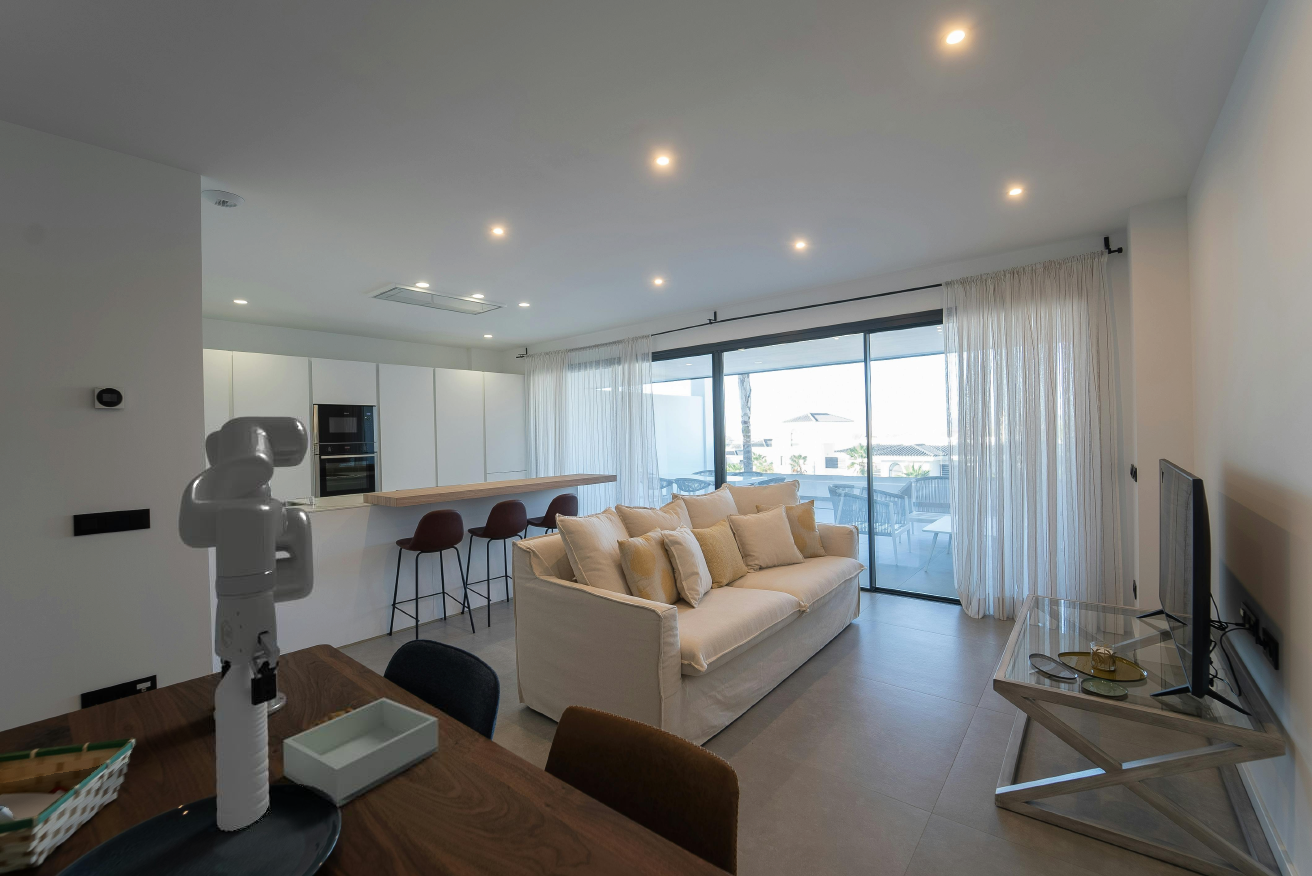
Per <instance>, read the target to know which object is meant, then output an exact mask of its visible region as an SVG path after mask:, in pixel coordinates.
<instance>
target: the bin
mask: <svg viewBox="0 0 1312 876" xmlns="http://www.w3.org/2000/svg"><path fill="white" fill-rule="evenodd" d="M282 744H283V776H284V777H286V778H288V779H290V780H291V781H293V782H294V783H296V784H297V785H299V784H304V785H309V786H314V787H316V788H318V789H320V790H323V791H324V792H326V793H328V794H329V795H331V797H333V799H334V800H335V801H336V802H337V804H338V805H339V806H340V807H341V806H343V805H345V804H347V803H349V802H350V801H352V800H353V799H355V798H358V797H359V796H361V795H362V794H365V793H366V792H368V791H370V790H372V789H374V788H375V787H377V786H379V785H381V784H382V783H384V782H386V781H388V780H390V779H392V778H394V777H395V776H397V775H399V774H400V773H402V772H404V771H406V770H409V768H411V767H413V766H415V765H416V764H418V763H421V761H424V760H425V759H427V758H428V757H430V756H432V755H434V754H436V753H438V752H439V718H437V717H435V716H431V715H429V714H427V713H425V712H421V711H419V710H417V709H414V708H412V707H408V706H407V705H403V704H401V703H398V702H396V701H394V700H391V699H388V698H386V697H382V698H380V699H377V700H375V701H373V702H370V703H368V704H366V705H363V706H361V707H358V708H356V709H355V710H354V709H353V711H352V712H349V713H347V714H345V715H342V716H340V717H337V718H335V719H333V720H330V721H328V722H326V723H323V724H321V725H319V726H316V727H314V728H312V729H309V730H307V731H305V732H303V731H302V732H301V733H297V734H296V735H293V736H291V737H288V738H286V739H284V740H283V743H282ZM423 759H424V760H423ZM414 764H415V765H414ZM412 765H413V766H412ZM398 773H399V774H398ZM357 796H358V797H357Z"/></svg>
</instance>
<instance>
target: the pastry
mask: <svg viewBox="0 0 1312 876" xmlns="http://www.w3.org/2000/svg"><path fill="white" fill-rule="evenodd" d="M352 711H354V709H353V708H347V709H345V710H343V711H336V712H334V713H333V712H332V713H329V714H327V715H326V716H325V717H323V718H321V719H319V720H316V721H314V723H311V724H310V725H309V726H307V727H305V728H304V729H303V731H302V732H305V731H307V730H309V729H312V728H314V727H316V726H319V725H321V724H323V723H326V722H328V721H330V720H333V719H335V718H337V717H340V716H342V715H345V714H347V713H349V712H352Z"/></svg>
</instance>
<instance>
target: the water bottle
mask: <svg viewBox="0 0 1312 876" xmlns="http://www.w3.org/2000/svg"><path fill="white" fill-rule="evenodd" d="M230 665H231V668H230V669H229V671H228V672H227V673H226V675H225V676H224V678H223V679H222V678H221V680H220V682H219V684H218V685H217V687H216V689H215V693H214V707H215V710H214V711H215V713H216V721H215V741H216V743H215V756H216V761H215V767H216V768H215V769H216V773H215V775H216V795H217V796H216V808H217V811H216V824H217V825H218V826H217V825H216V826H217V827H219V828H220V829H221V830H220V829H219V828H218V829H219V830H220V831H222V830H225V831H224V832H228V831H230V832H233V831H234V830H236V831H238V830H237V829H240V828H242V827H243V828H246V827H245V826H247V825H250V824H251V823H253V822H254V821H256V820H258V819H259V818H260V817H261V816H262V815H263V814H264V813H265V812H266V810H267V808H268V806H269V807H270V794H269V791H270V784H269V774H270V773H269V757H268V756H269V745H268V743H269V733H268V727H269V726H268V715H267V702H264V703H261V704H259V705H256V706H254V705H252V703H251V678H254V675H253V672H252V669H251V667H250V664H249V662H247V664H246V665H243V666H240V665H237V664H235V663H232V662H231V663H230ZM258 821H259V820H258ZM243 828H242V829H243ZM240 830H241V829H240ZM234 832H235V831H234Z"/></svg>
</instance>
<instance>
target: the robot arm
mask: <svg viewBox="0 0 1312 876" xmlns="http://www.w3.org/2000/svg"><path fill="white" fill-rule="evenodd" d="M308 446H309V437H308V431H307V428H306V427H305V425H304V423H303V422H302V421H301V420H300V419H298V418H295V417H291V416H239V417H234V418H232V419H229V420H228V421H226V422H225V423H224V424H223V425H222V426H221V427H220V429H219V430H215V431H212V432H210V433H209V434H208V435H207V436H206V439H205V444H204V448H205V454H206V458H207V461H208V464H209V466H210V467H208V468H206V469H205V470H203V471H202V472H201V473H199V474H197V476H195V477H194V478H192V479H191V480H190V481H189V482H188V483H187V484H186V485H187V486H186V487H185V488H184V490H183V492H182V496H181V501H180V509H179V514H178V534H179V537H180V539H181V541H182V542H183V544H184V545H186V546H187V547H190V548H192V549H208V548H215V583H214V586H215V588H214V589H215V594H216V599H217V602H216V611H215V623H214V654H215V655H216V656H217V657H218V658H219V663H220V665H221V666H220V667H221V669H220V671H221V673H220V674H221V677H220V678H221V680H222V679H223V678H224V676H225V675H226V673H227V672H228V671H229V669H230V668H231V665H230V663H231V662H232V663H235V664H237V665H240V666H243V665H246V664H247V662H249V664H250V667H251V669H252V672H253V675H254V678H251V703H252V705H254V706H256V705H259V704H261V703H264V702H267V716H270V715H271V714H274V713H275V712H277V711H279V710H280V709H282V707H284V705H286V701H287V697H286V695H285V693H283V692H280V691H278V671H279V670H278V666H279V663H280V661H279V658H280V654H281V649H280V647H279V646H278V631H277V630H278V629H277V628H278V627H277V626H278V625H277V615H276V605H275V604H279V603H285V602H286V603H287V602H290V601H293V602H294V601H297V600H301V599H305V598H307V597H309V596H310V595H311V594H312V591H313V589H314V582H315V581H314V580H315V579H314V557H313V556H314V555H313V551H314V550H313V532H312V531H313V530H312V523H311V519H310V515H309V513H308V512H307V511H306V510H305V509H303V508H301V507H286V506H285V505H283V503H282V502H281V501H280V500H278V499H277V498H273V497H271V495H272V494H271V493H272V490H271V486H270V484H269V482H270V481H271V479H272V478H273V475H274V473H275V468H289V467H290V468H291V467H292V468H293V467H297V466H299V465H300V464H302V462H303V461H304V458H305V456H306V453H307V450H308V448H309V447H308ZM279 552H280V553H281V552H285V553H287V554H288V555H289V556H285V557H276V553H279ZM213 720H214V721H215V722H216V713H215V710H214V712H213Z"/></svg>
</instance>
